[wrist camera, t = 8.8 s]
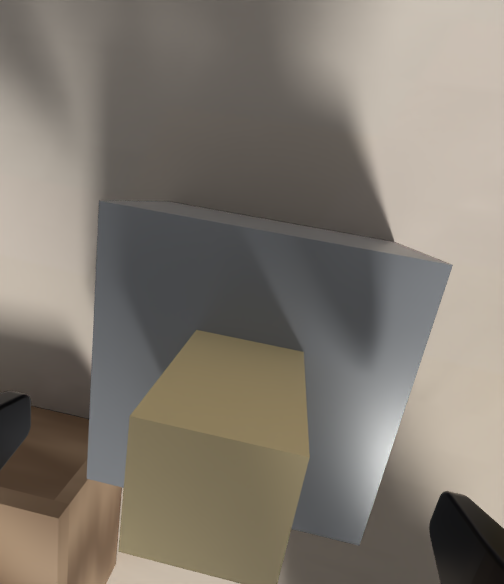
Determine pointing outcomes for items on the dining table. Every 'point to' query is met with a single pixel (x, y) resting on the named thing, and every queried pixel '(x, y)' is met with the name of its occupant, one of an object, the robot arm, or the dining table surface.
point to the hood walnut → (56, 508)
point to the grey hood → (248, 379)
